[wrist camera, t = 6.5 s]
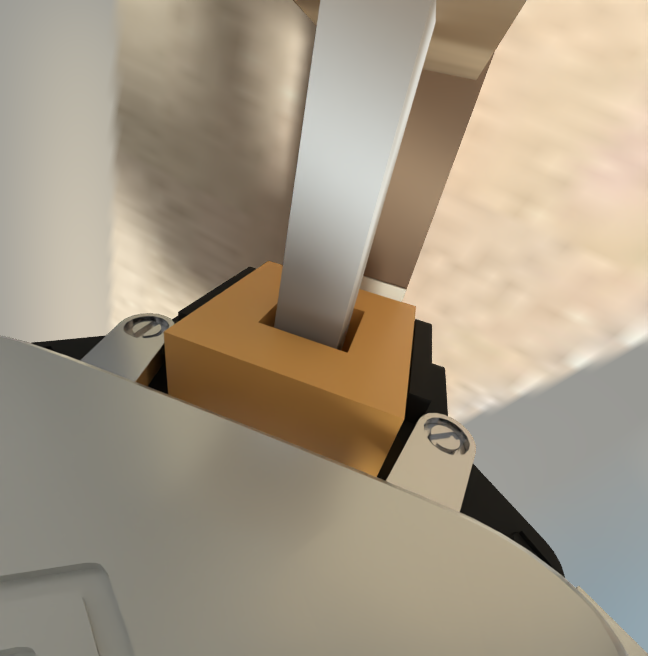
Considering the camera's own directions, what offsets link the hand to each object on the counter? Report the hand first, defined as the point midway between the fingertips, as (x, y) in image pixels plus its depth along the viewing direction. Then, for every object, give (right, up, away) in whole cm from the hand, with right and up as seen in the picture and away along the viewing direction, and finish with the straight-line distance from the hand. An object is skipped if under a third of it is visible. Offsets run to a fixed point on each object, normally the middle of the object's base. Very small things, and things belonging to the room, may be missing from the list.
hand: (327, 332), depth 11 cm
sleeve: (0, 0, 0) cm, 0 cm away
